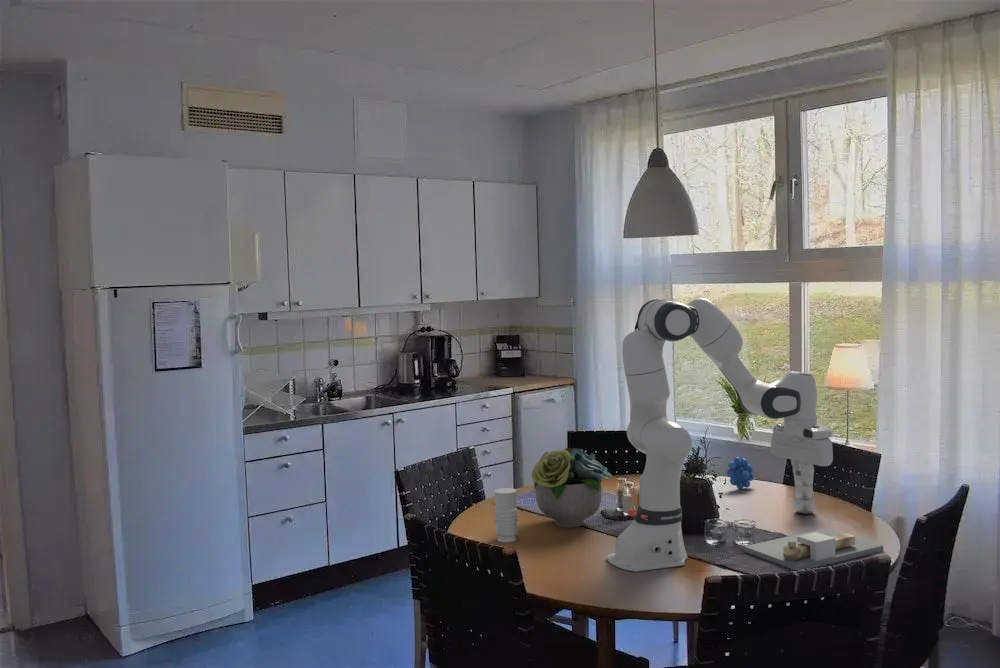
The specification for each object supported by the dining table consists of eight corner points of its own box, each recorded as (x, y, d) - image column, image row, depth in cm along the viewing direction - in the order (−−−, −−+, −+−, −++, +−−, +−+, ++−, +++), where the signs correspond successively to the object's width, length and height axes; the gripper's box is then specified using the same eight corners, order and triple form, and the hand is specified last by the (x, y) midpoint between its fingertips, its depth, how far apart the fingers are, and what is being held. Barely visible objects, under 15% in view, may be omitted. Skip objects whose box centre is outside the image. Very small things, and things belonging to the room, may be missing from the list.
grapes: (735, 493, 302) (734, 460, 301) (723, 489, 308) (722, 457, 307) (761, 489, 306) (760, 456, 305) (749, 485, 312) (748, 453, 312)
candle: (506, 534, 262) (505, 486, 262) (523, 538, 257) (521, 490, 257) (490, 539, 258) (489, 491, 257) (507, 544, 253) (505, 494, 252)
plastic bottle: (813, 516, 270) (812, 454, 269) (791, 514, 273) (790, 453, 272) (817, 511, 275) (816, 450, 274) (795, 509, 279) (794, 449, 278)
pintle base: (798, 572, 220) (797, 547, 220) (744, 551, 238) (743, 528, 238) (883, 550, 235) (883, 527, 234) (826, 533, 252) (825, 511, 252)
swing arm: (792, 560, 223) (792, 551, 223) (779, 556, 227) (779, 547, 227) (857, 545, 234) (857, 536, 234) (844, 541, 238) (844, 532, 237)
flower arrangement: (565, 509, 288) (563, 438, 287) (624, 522, 271) (622, 447, 269) (514, 526, 271) (511, 450, 270) (573, 541, 253) (571, 460, 252)
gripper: (765, 424, 249) (765, 470, 249) (820, 434, 230) (820, 484, 231) (781, 422, 251) (781, 468, 252) (836, 432, 233) (836, 481, 234)
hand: (800, 476), depth 241 cm, fingers closed
